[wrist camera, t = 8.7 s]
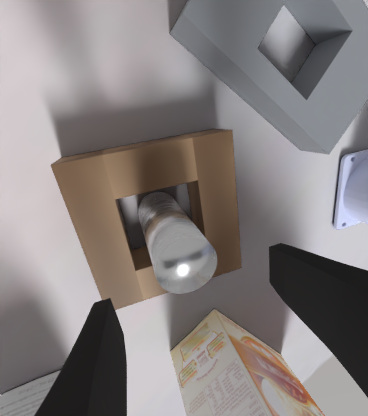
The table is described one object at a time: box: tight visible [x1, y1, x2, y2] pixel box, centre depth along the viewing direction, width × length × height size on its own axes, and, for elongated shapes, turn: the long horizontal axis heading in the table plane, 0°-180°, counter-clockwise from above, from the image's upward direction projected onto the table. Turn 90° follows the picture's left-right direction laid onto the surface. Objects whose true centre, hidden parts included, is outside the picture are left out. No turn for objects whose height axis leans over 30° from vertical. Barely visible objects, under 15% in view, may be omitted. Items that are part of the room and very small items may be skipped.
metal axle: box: [138, 192, 217, 294], centre depth 15 cm, size 3×3×8 cm
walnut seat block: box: [51, 129, 242, 310], centre depth 17 cm, size 11×11×3 cm
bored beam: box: [170, 0, 368, 154], centre depth 16 cm, size 14×8×3 cm, turn 57°
